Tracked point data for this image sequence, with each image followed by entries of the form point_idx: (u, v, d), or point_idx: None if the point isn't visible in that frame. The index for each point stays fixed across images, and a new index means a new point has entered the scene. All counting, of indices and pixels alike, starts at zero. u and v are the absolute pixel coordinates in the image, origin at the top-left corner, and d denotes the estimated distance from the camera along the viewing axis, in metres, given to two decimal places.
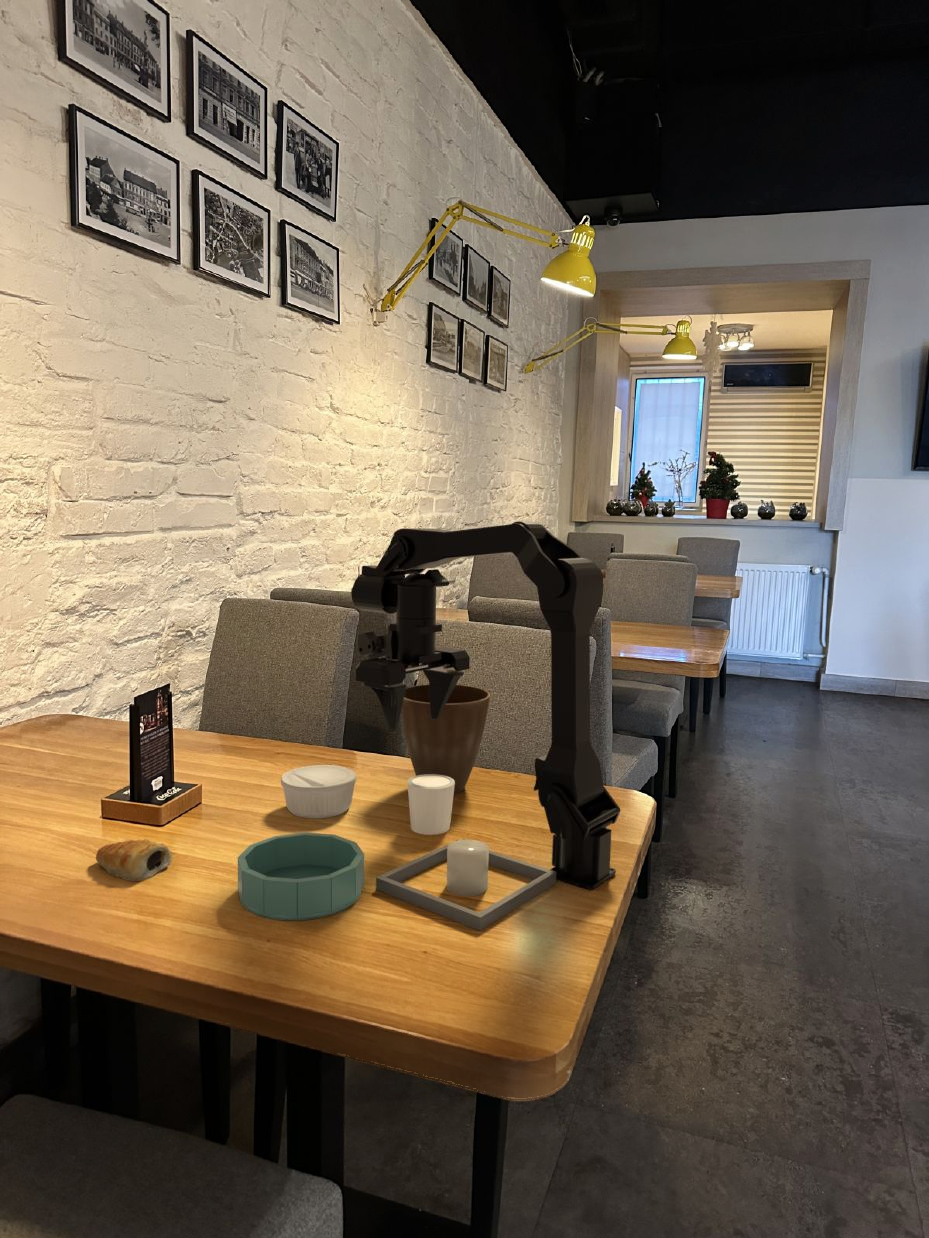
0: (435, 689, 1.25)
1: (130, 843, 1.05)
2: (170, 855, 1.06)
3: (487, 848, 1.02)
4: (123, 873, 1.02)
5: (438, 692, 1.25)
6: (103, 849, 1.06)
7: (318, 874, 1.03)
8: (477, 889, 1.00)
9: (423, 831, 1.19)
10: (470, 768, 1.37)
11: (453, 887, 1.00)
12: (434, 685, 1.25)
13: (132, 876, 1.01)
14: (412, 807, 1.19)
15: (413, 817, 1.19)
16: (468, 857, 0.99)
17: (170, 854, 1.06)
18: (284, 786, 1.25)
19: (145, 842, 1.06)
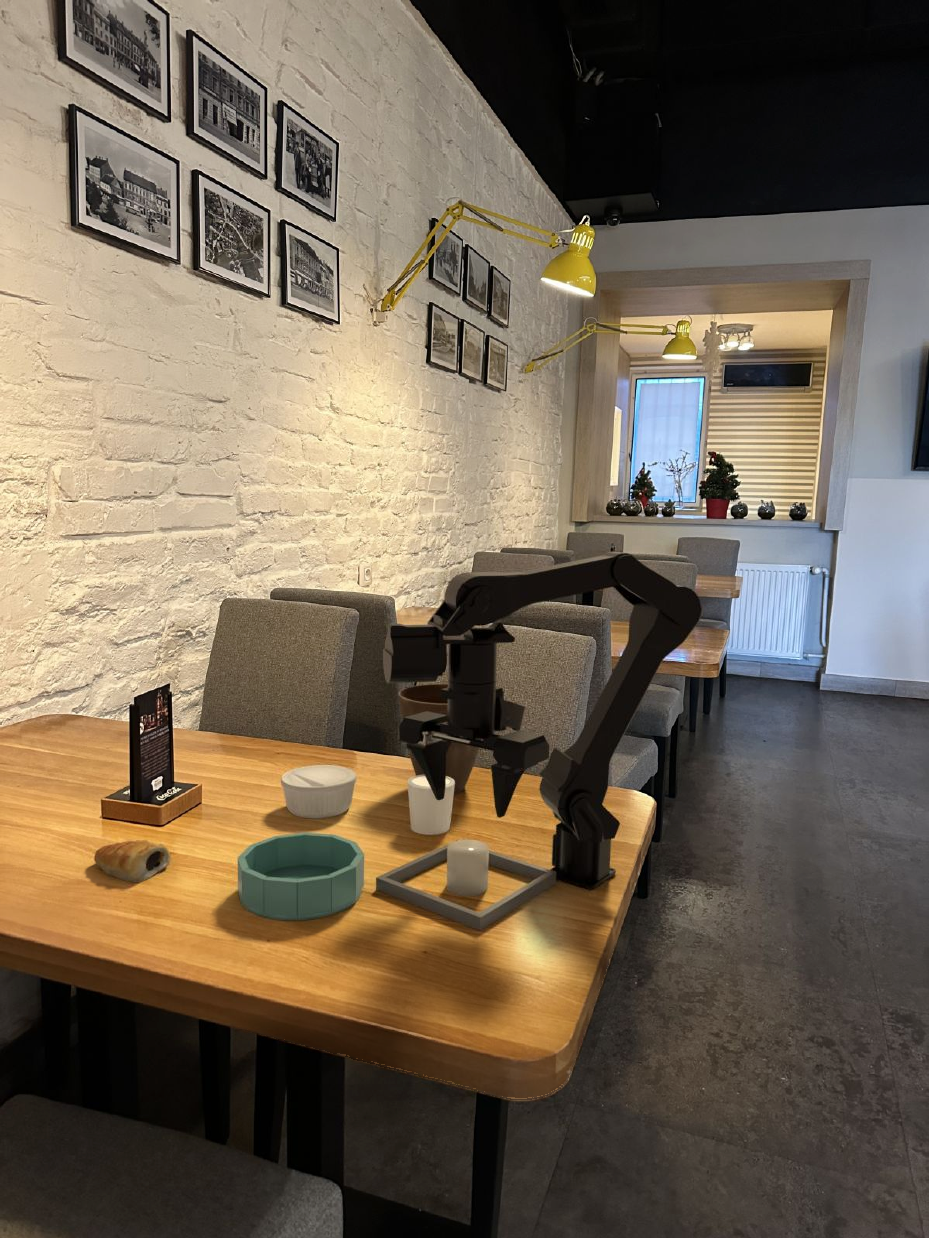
0: None
1: (129, 844, 1.05)
2: (169, 855, 1.06)
3: (487, 848, 1.02)
4: (122, 873, 1.02)
5: None
6: (101, 850, 1.05)
7: (318, 874, 1.03)
8: (477, 889, 1.00)
9: (423, 831, 1.19)
10: (470, 768, 1.37)
11: (453, 887, 1.00)
12: None
13: (131, 876, 1.01)
14: (412, 807, 1.19)
15: (413, 817, 1.19)
16: (468, 857, 0.99)
17: (169, 854, 1.06)
18: (284, 786, 1.25)
19: (144, 843, 1.05)
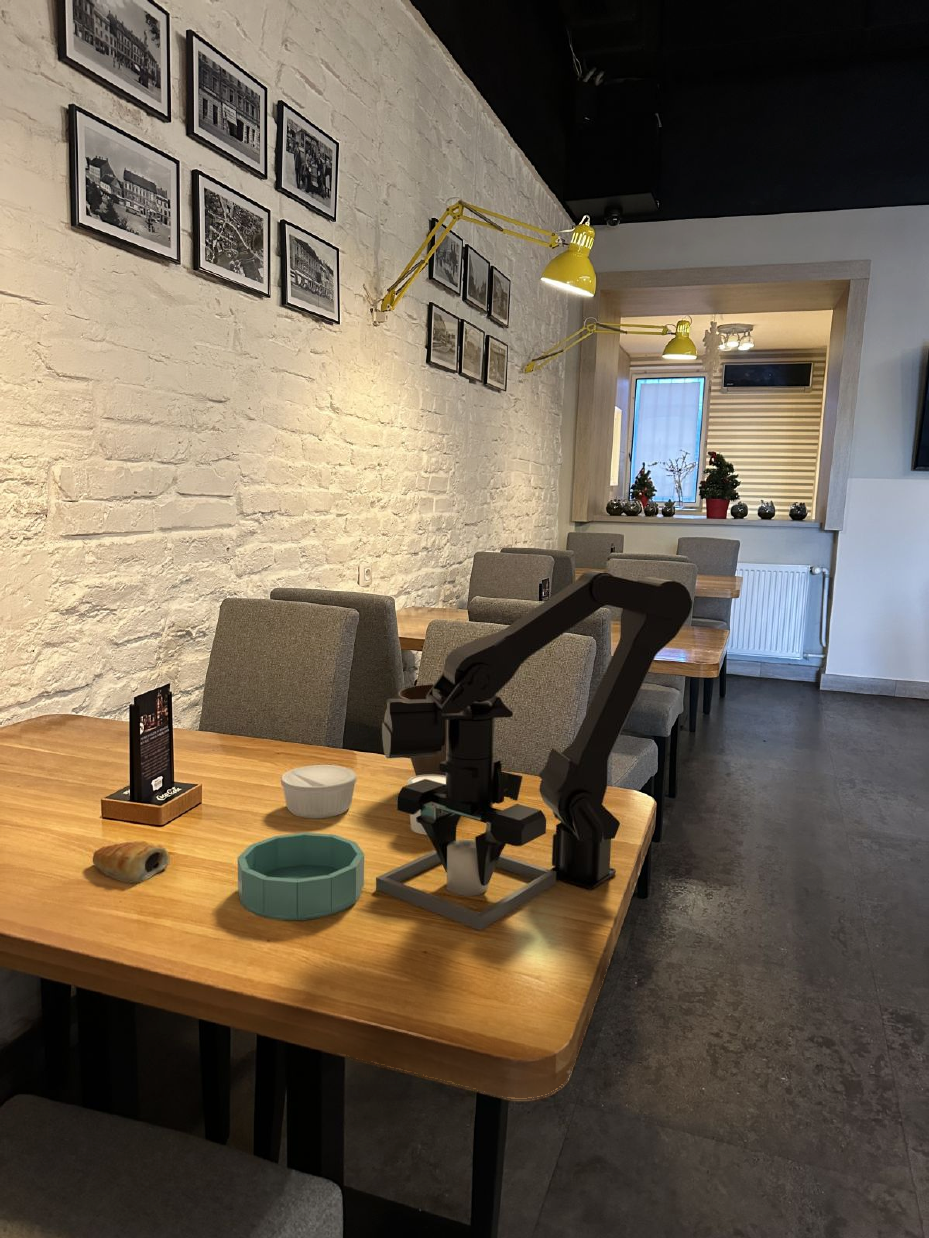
0: None
1: (127, 845, 1.04)
2: (168, 856, 1.06)
3: None
4: (121, 875, 1.02)
5: None
6: (100, 851, 1.05)
7: (318, 874, 1.03)
8: (477, 889, 1.00)
9: (423, 831, 1.19)
10: None
11: (453, 887, 1.00)
12: None
13: (130, 878, 1.01)
14: None
15: (413, 817, 1.19)
16: (468, 857, 0.99)
17: (168, 856, 1.06)
18: (284, 786, 1.25)
19: (142, 844, 1.05)
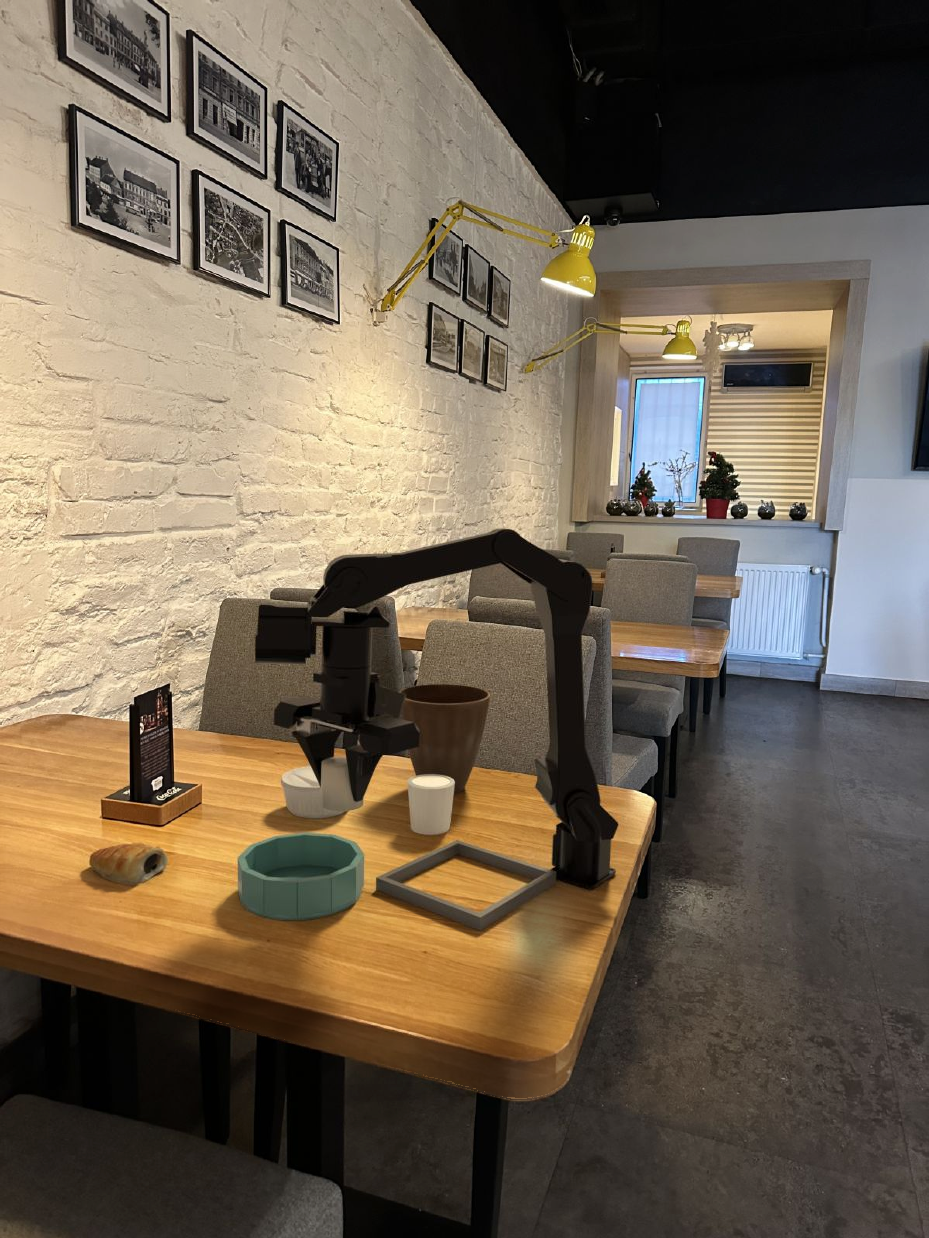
0: None
1: (125, 847, 1.04)
2: (166, 858, 1.05)
3: None
4: (119, 877, 1.01)
5: None
6: (97, 853, 1.04)
7: (318, 874, 1.03)
8: (349, 804, 0.97)
9: (423, 831, 1.19)
10: (470, 768, 1.37)
11: (325, 802, 0.97)
12: None
13: (129, 879, 1.00)
14: (412, 807, 1.19)
15: (413, 817, 1.19)
16: (340, 771, 0.96)
17: (166, 857, 1.05)
18: (284, 786, 1.25)
19: (140, 845, 1.04)
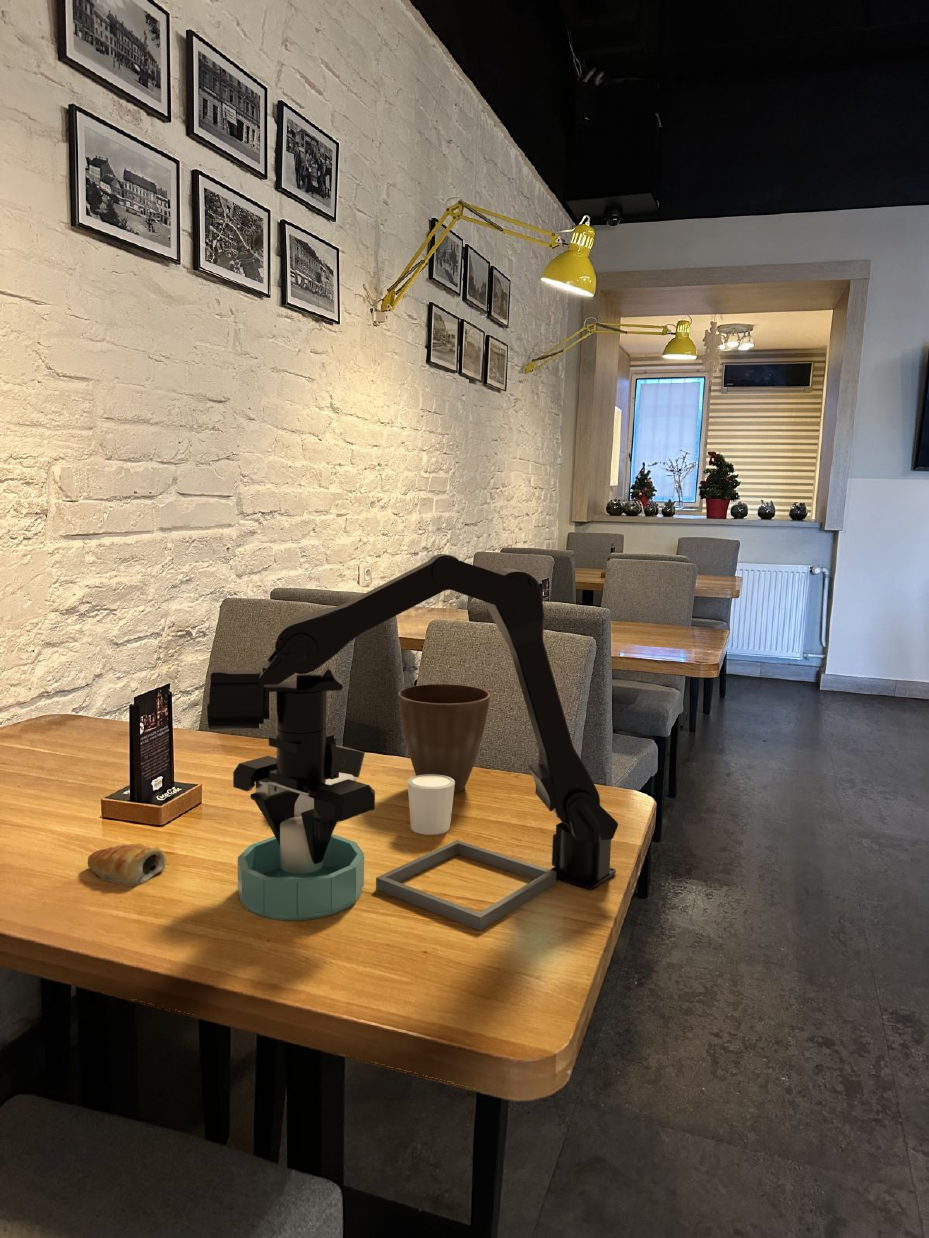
0: None
1: (123, 848, 1.03)
2: (164, 858, 1.05)
3: None
4: (118, 878, 1.01)
5: None
6: (95, 855, 1.04)
7: (318, 874, 1.03)
8: (308, 866, 0.97)
9: (423, 831, 1.19)
10: (470, 768, 1.37)
11: (284, 864, 0.98)
12: None
13: (128, 880, 1.00)
14: (412, 807, 1.19)
15: (413, 817, 1.19)
16: (297, 834, 0.96)
17: (165, 858, 1.05)
18: None
19: (139, 846, 1.04)
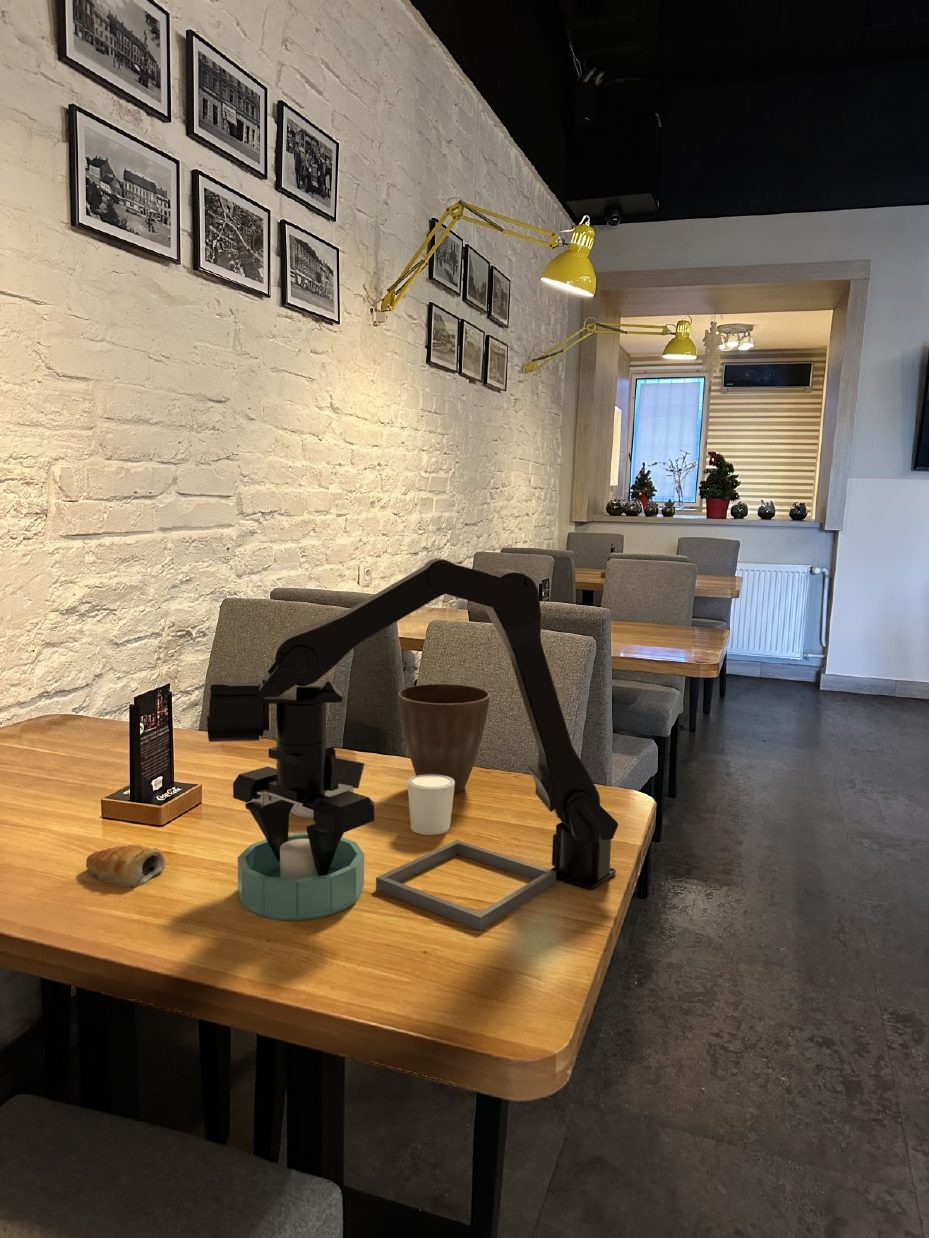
0: None
1: (122, 849, 1.03)
2: (164, 859, 1.05)
3: None
4: (117, 879, 1.00)
5: None
6: (94, 856, 1.04)
7: None
8: None
9: (423, 831, 1.19)
10: (470, 768, 1.37)
11: None
12: None
13: (128, 882, 1.00)
14: (412, 807, 1.19)
15: (413, 817, 1.19)
16: (297, 857, 0.97)
17: (164, 858, 1.05)
18: None
19: (138, 847, 1.04)
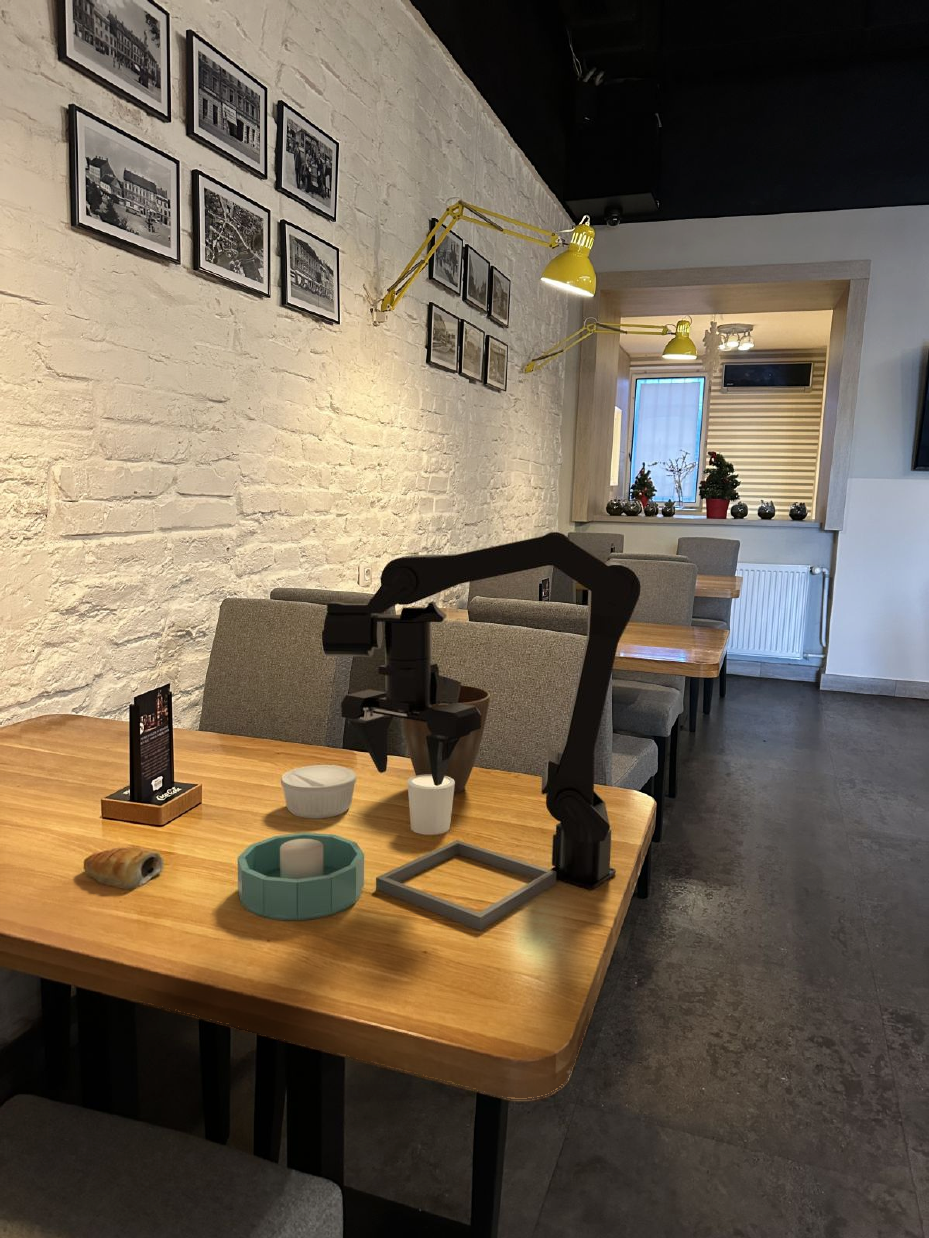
0: None
1: (121, 850, 1.03)
2: (162, 861, 1.04)
3: (321, 847, 0.99)
4: (116, 881, 1.00)
5: None
6: (91, 858, 1.03)
7: None
8: None
9: (423, 831, 1.19)
10: (470, 768, 1.37)
11: None
12: None
13: (127, 883, 0.99)
14: (412, 807, 1.19)
15: (413, 817, 1.19)
16: (297, 857, 0.97)
17: (162, 860, 1.04)
18: (284, 786, 1.25)
19: (136, 849, 1.03)
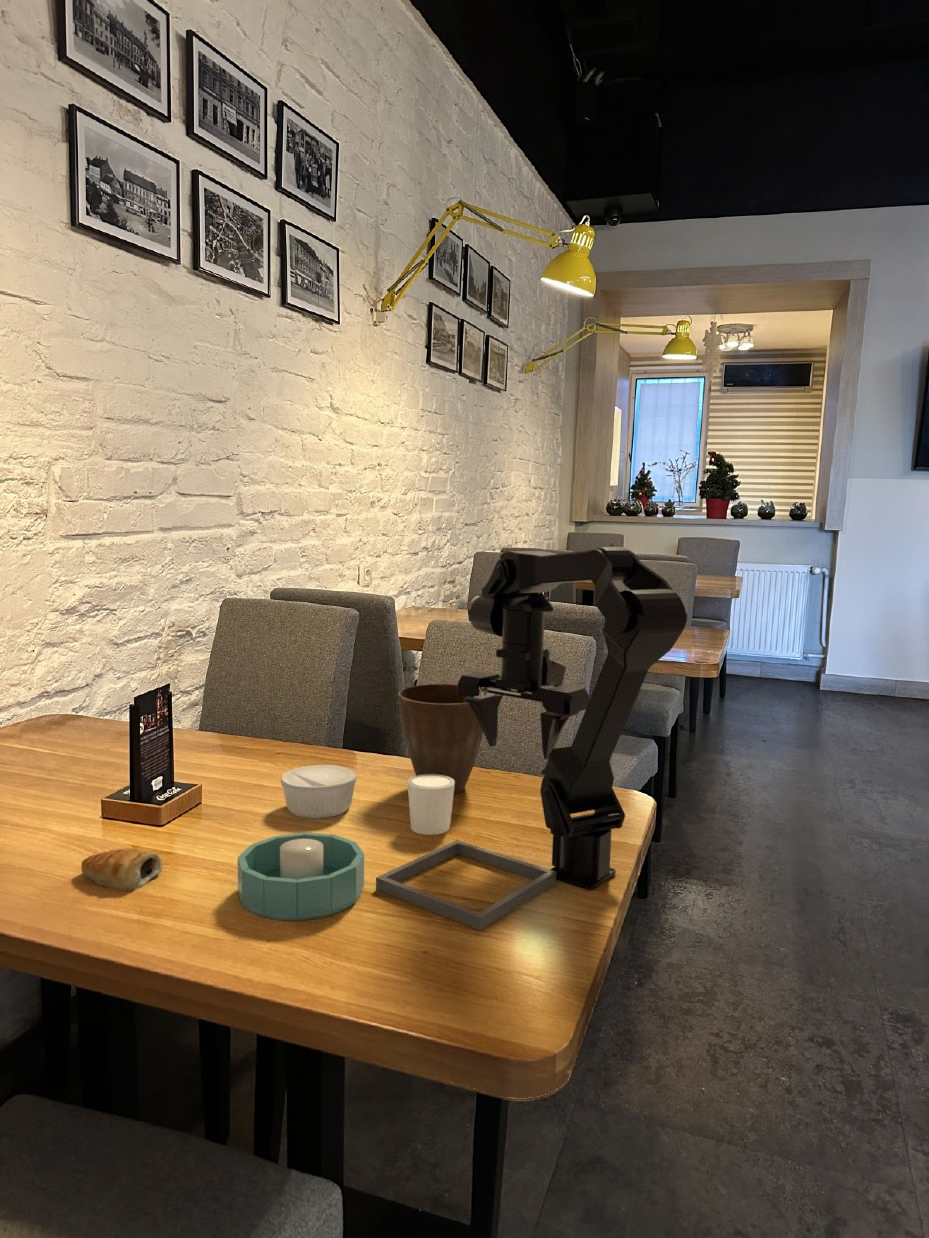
0: None
1: (119, 852, 1.02)
2: (161, 862, 1.04)
3: (321, 847, 0.99)
4: (115, 882, 0.99)
5: None
6: (89, 860, 1.02)
7: None
8: None
9: (423, 831, 1.19)
10: (470, 768, 1.37)
11: None
12: None
13: (126, 885, 0.99)
14: (412, 807, 1.19)
15: (413, 817, 1.19)
16: (297, 857, 0.97)
17: (161, 861, 1.04)
18: (284, 786, 1.25)
19: (134, 850, 1.03)
